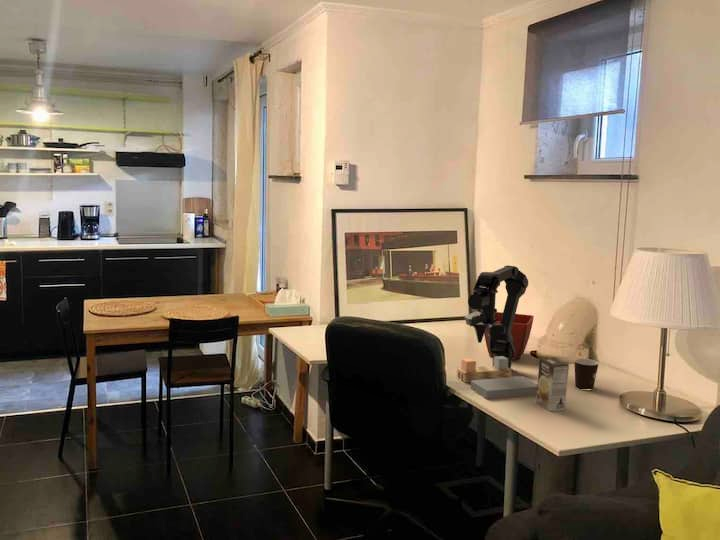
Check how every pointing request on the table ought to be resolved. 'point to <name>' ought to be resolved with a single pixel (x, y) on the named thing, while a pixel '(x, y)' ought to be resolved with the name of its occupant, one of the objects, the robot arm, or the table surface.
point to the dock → (504, 387)
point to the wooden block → (483, 373)
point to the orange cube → (468, 365)
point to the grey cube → (500, 362)
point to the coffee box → (552, 384)
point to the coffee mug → (585, 373)
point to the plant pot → (515, 333)
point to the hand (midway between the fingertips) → (485, 345)
